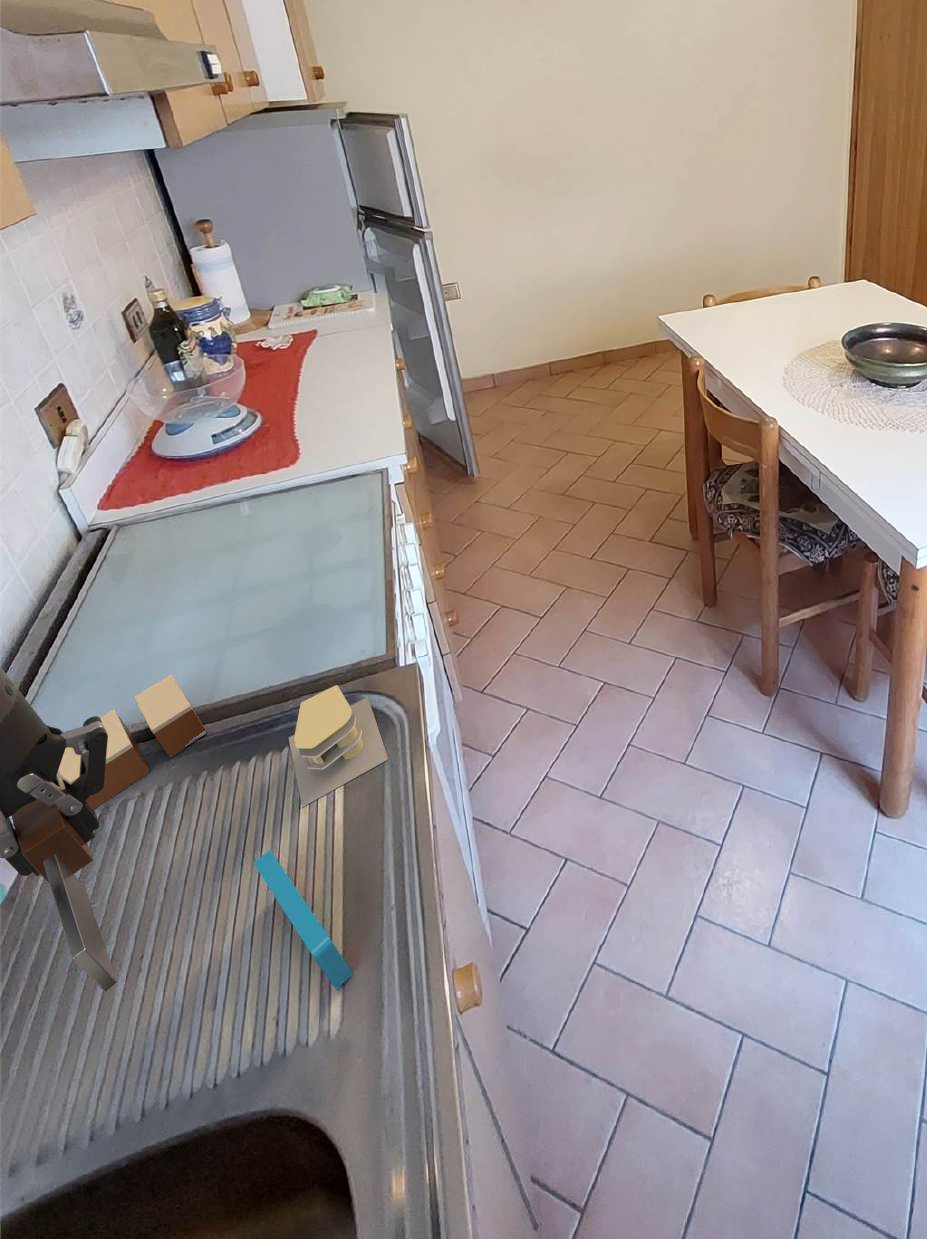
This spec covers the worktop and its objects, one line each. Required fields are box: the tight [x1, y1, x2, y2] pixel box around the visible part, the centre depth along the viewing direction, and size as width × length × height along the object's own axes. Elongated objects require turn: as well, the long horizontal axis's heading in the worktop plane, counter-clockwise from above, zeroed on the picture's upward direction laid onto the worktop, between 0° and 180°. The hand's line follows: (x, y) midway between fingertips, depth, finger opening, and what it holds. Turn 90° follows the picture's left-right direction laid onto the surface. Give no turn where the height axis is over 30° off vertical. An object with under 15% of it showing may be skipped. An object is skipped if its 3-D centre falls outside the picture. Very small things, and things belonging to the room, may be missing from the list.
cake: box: [58, 709, 152, 811], centre depth 80 cm, size 7×7×5 cm
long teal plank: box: [253, 849, 353, 991], centre depth 64 cm, size 12×2×6 cm, turn 50°
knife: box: [11, 800, 118, 993], centre depth 57 cm, size 3×18×5 cm, turn 48°
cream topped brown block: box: [133, 674, 207, 759], centre depth 84 cm, size 4×7×5 cm, turn 48°
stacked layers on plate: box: [288, 684, 389, 808], centre depth 80 cm, size 10×9×6 cm
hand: (64, 849), depth 62 cm, fingers closed on knife, 3 cm apart
